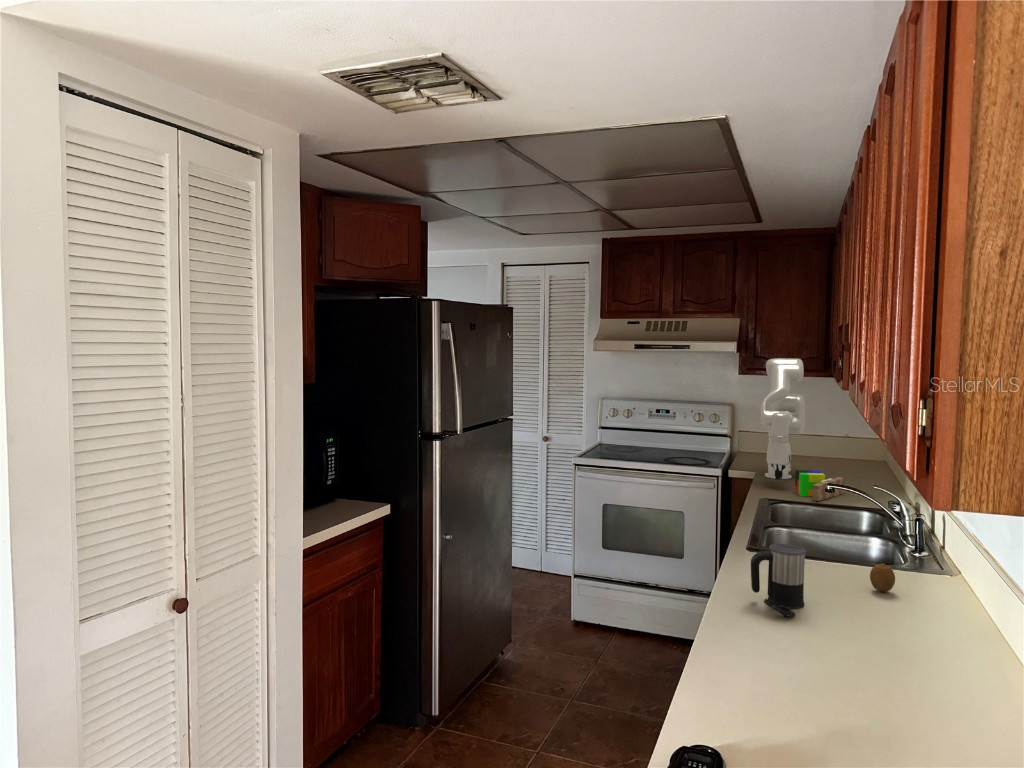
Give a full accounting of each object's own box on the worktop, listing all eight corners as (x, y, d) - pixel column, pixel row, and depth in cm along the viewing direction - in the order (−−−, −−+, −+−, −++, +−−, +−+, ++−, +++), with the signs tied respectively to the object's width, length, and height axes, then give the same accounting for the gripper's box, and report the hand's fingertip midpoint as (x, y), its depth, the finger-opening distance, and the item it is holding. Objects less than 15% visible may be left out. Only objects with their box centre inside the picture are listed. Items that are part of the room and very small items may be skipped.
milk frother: (793, 595, 194) (794, 542, 193) (826, 618, 179) (828, 560, 178) (744, 598, 192) (745, 544, 191) (773, 621, 177) (774, 562, 176)
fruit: (880, 596, 193) (881, 567, 193) (864, 588, 199) (865, 560, 199) (900, 594, 195) (900, 566, 194) (883, 587, 201) (884, 559, 200)
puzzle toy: (818, 492, 324) (818, 470, 324) (824, 497, 314) (824, 474, 314) (795, 491, 326) (795, 470, 325) (800, 496, 316) (801, 474, 315)
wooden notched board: (838, 492, 324) (838, 475, 323) (843, 493, 322) (844, 476, 321) (811, 501, 306) (812, 483, 306) (817, 502, 304) (818, 484, 304)
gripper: (760, 438, 333) (759, 477, 334) (791, 442, 322) (790, 482, 323) (768, 437, 338) (767, 475, 339) (798, 440, 327) (797, 479, 328)
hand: (778, 478), depth 331 cm, fingers closed
